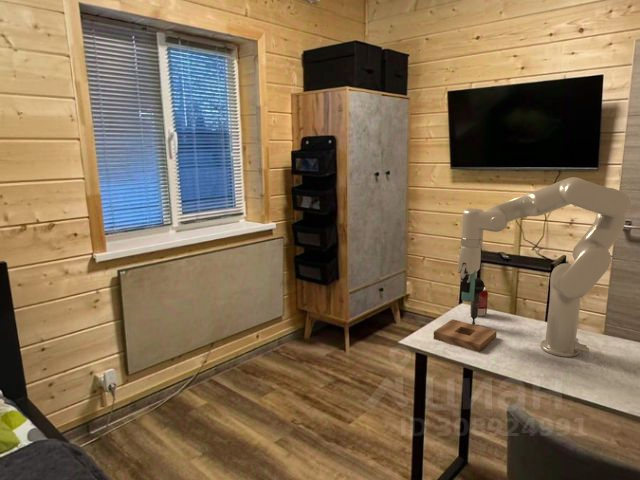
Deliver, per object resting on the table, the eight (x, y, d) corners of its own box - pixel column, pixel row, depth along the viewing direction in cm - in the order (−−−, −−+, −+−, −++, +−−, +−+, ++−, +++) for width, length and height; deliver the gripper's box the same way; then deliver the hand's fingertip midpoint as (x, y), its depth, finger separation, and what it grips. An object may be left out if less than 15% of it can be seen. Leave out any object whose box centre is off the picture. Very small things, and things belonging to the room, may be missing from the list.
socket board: (496, 338, 174) (496, 330, 173) (479, 352, 162) (479, 344, 162) (452, 326, 186) (452, 319, 185) (433, 338, 174) (433, 331, 173)
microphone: (463, 321, 191) (466, 275, 186) (480, 321, 190) (483, 275, 185) (466, 327, 184) (469, 280, 180) (483, 328, 183) (487, 280, 179)
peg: (475, 299, 171) (477, 268, 168) (470, 302, 167) (472, 271, 165) (464, 297, 173) (466, 266, 171) (459, 300, 170) (461, 269, 168)
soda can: (487, 318, 194) (489, 291, 191) (471, 317, 195) (472, 290, 192) (485, 312, 200) (487, 286, 198) (469, 311, 201) (470, 285, 199)
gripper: (471, 237, 174) (467, 283, 178) (451, 245, 162) (448, 293, 166) (490, 240, 169) (486, 287, 173) (472, 248, 157) (468, 298, 161)
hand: (468, 289), depth 169 cm, fingers closed on peg, 4 cm apart
